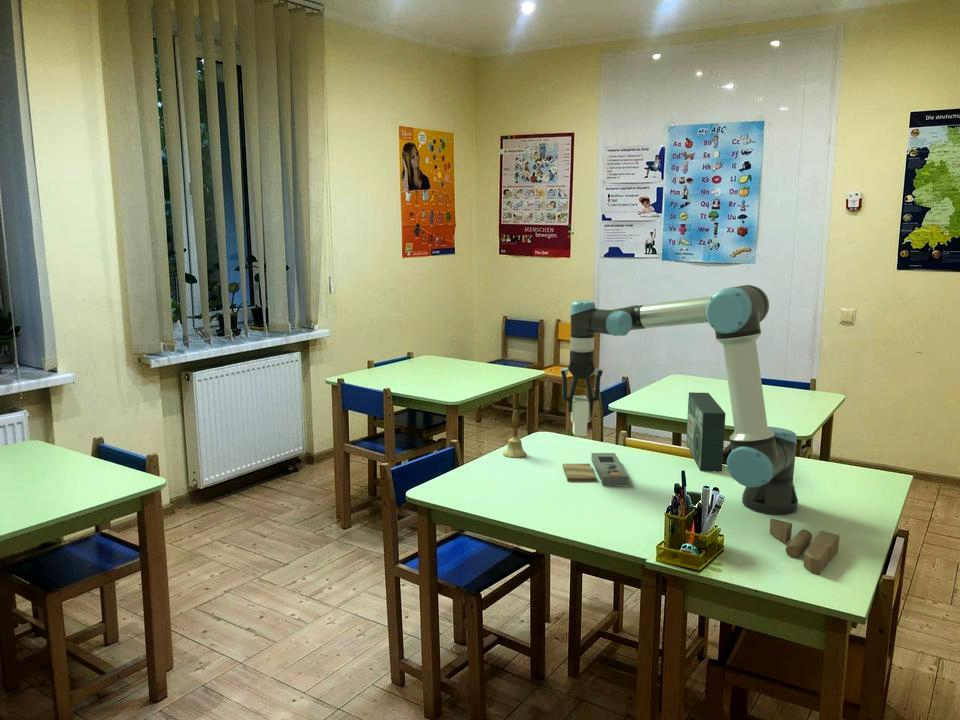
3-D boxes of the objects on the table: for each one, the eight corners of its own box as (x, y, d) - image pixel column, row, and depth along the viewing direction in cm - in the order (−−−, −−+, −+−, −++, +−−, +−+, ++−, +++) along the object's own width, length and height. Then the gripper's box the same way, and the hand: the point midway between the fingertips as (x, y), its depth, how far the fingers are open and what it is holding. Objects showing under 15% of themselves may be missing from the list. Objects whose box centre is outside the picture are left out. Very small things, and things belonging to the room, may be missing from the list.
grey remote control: (628, 485, 233) (628, 474, 232) (602, 485, 233) (603, 474, 232) (614, 461, 256) (614, 450, 256) (591, 461, 256) (591, 450, 256)
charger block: (586, 435, 239) (587, 399, 236) (574, 435, 239) (575, 399, 236) (584, 431, 244) (585, 395, 241) (572, 431, 244) (573, 395, 241)
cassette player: (686, 445, 275) (688, 392, 271) (705, 445, 274) (708, 392, 271) (700, 471, 247) (703, 412, 243) (721, 472, 246) (725, 413, 242)
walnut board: (595, 481, 237) (596, 477, 237) (567, 481, 237) (567, 477, 237) (589, 467, 251) (589, 463, 250) (562, 467, 251) (562, 463, 250)
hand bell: (520, 449, 270) (520, 406, 267) (530, 456, 262) (530, 412, 259) (499, 452, 267) (499, 409, 264) (508, 459, 259) (508, 414, 256)
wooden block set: (841, 529, 187) (822, 555, 173) (839, 550, 188) (820, 577, 174) (772, 513, 197) (749, 536, 184) (770, 533, 199) (747, 557, 185)
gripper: (606, 347, 240) (604, 418, 244) (553, 347, 240) (552, 418, 244) (610, 352, 232) (608, 424, 237) (556, 352, 232) (554, 424, 237)
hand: (580, 421), depth 240 cm, fingers closed on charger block, 4 cm apart
